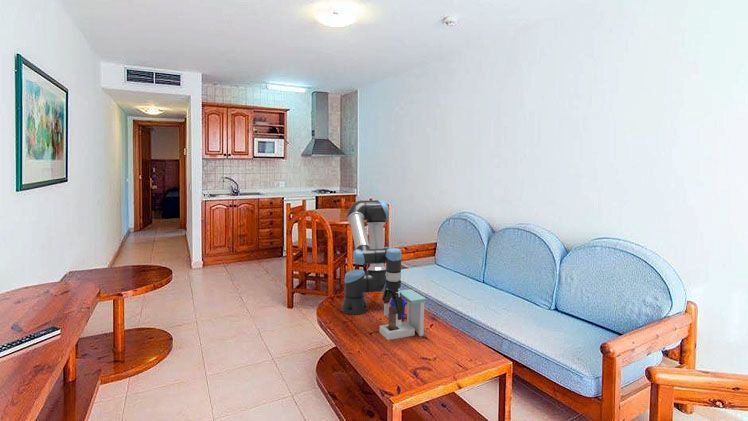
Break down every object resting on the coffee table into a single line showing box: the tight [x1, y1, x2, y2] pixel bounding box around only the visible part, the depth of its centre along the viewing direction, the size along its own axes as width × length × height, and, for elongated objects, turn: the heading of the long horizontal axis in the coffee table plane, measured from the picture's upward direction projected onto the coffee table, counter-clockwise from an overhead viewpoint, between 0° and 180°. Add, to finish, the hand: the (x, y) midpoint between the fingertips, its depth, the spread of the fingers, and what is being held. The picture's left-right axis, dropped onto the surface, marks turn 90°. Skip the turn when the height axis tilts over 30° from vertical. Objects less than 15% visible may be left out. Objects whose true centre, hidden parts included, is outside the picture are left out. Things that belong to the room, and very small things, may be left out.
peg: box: [388, 306, 397, 331], centre depth 201 cm, size 4×4×14 cm
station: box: [379, 288, 427, 341], centre depth 203 cm, size 16×20×20 cm
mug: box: [390, 298, 407, 319], centre depth 223 cm, size 8×12×10 cm
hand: (392, 320), depth 201 cm, fingers open, 13 cm apart
